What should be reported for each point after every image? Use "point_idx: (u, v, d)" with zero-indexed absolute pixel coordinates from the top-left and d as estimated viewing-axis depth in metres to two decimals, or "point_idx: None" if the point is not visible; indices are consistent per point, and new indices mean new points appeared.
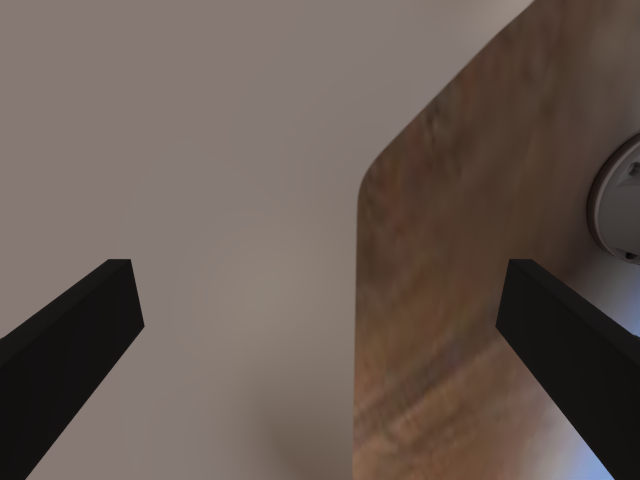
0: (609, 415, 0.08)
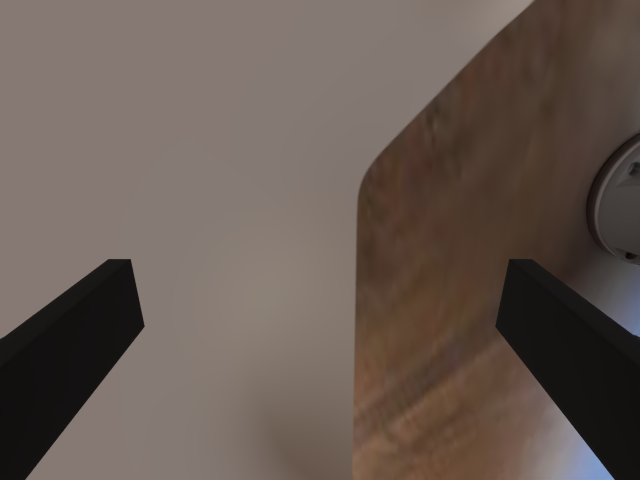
0: (609, 415, 0.08)
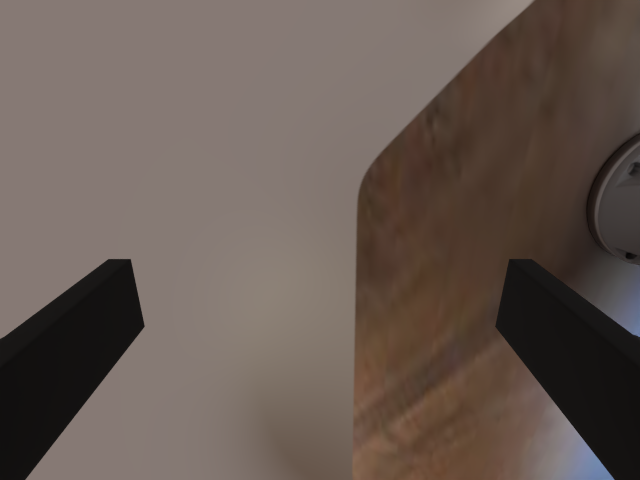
0: (609, 415, 0.08)
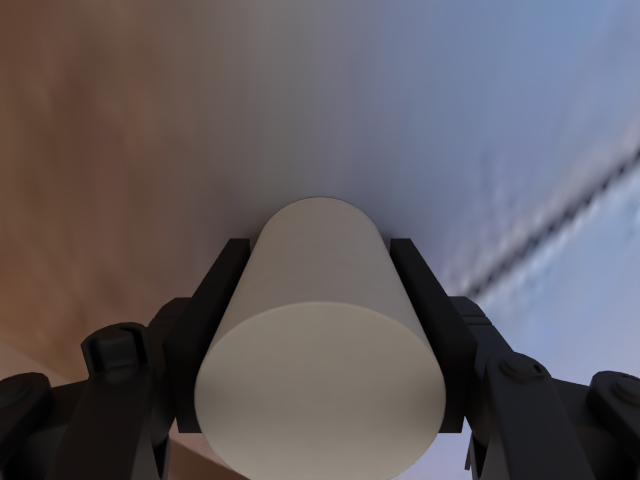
0: None
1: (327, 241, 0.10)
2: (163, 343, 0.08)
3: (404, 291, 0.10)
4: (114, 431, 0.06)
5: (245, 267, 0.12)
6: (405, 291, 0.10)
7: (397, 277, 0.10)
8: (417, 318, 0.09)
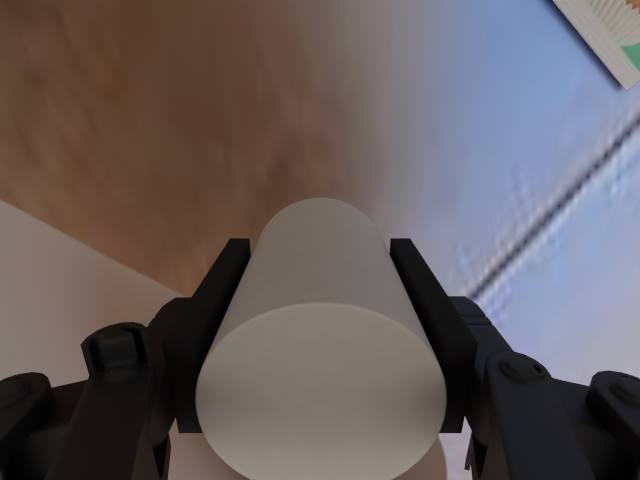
0: None
1: (327, 241, 0.10)
2: (163, 343, 0.08)
3: (405, 292, 0.10)
4: (114, 431, 0.06)
5: (246, 268, 0.12)
6: (406, 292, 0.10)
7: (398, 278, 0.10)
8: (418, 319, 0.09)
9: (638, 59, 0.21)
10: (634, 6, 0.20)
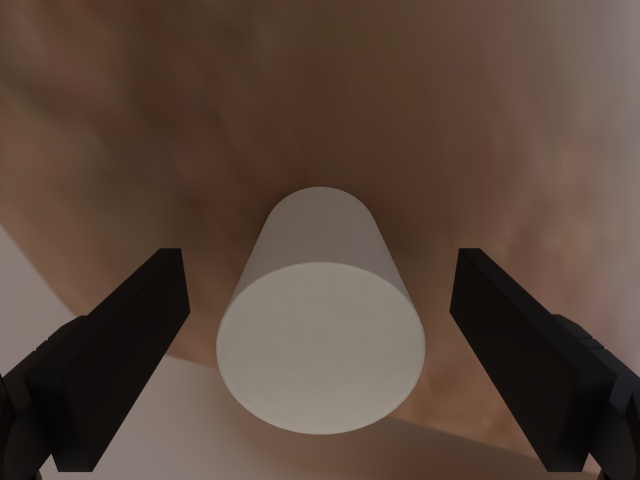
0: (525, 383, 0.09)
1: (326, 220, 0.12)
2: (24, 376, 0.07)
3: (393, 263, 0.11)
4: None
5: (254, 246, 0.13)
6: (394, 264, 0.12)
7: (387, 252, 0.12)
8: (403, 283, 0.10)
9: None
10: None
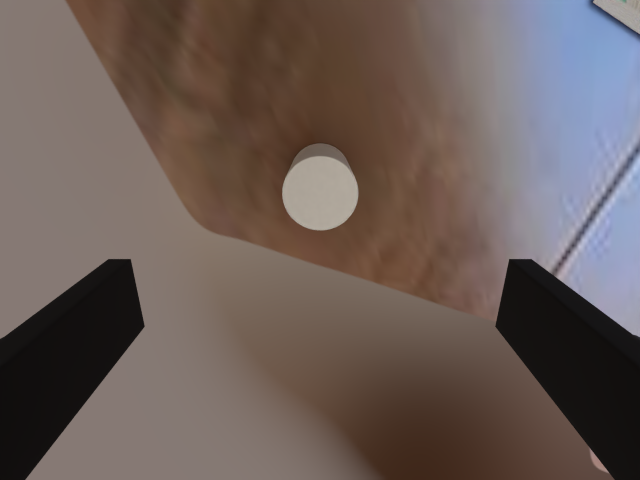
0: (609, 415, 0.08)
1: (322, 150, 0.28)
2: None
3: (349, 166, 0.28)
4: None
5: None
6: (350, 169, 0.28)
7: (348, 164, 0.28)
8: (352, 172, 0.27)
9: None
10: None
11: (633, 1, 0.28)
